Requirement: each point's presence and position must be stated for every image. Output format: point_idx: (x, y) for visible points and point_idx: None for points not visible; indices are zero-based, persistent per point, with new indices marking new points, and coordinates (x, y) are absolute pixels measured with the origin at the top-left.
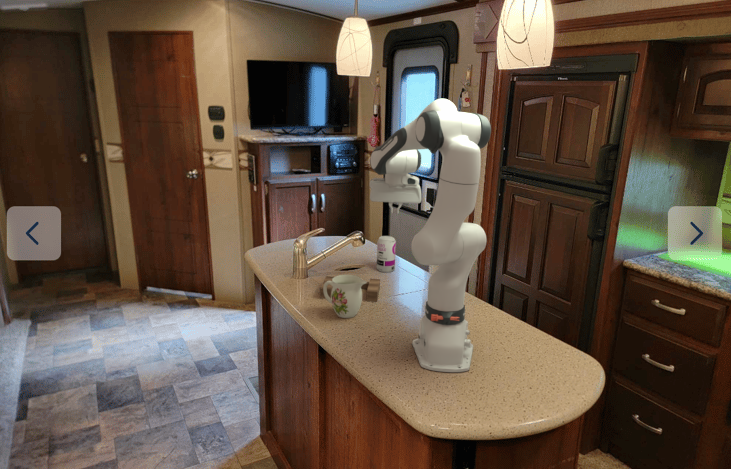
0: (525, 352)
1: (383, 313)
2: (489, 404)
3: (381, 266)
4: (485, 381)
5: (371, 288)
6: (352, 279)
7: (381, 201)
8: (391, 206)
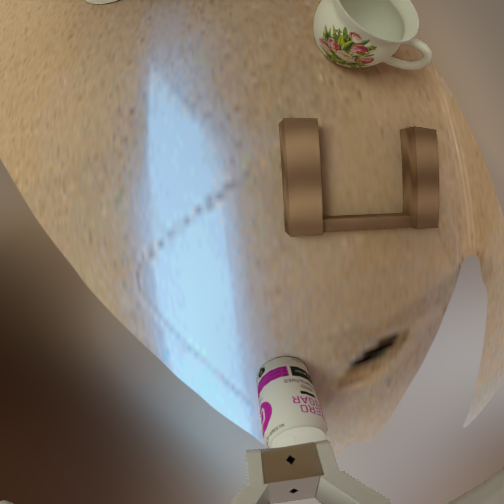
0: (8, 23)
1: (249, 56)
2: None
3: (295, 365)
4: None
5: (307, 145)
6: (369, 38)
7: (490, 479)
8: (349, 495)
